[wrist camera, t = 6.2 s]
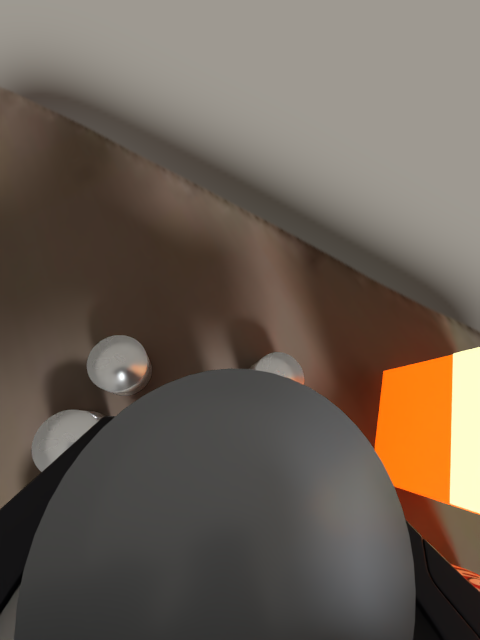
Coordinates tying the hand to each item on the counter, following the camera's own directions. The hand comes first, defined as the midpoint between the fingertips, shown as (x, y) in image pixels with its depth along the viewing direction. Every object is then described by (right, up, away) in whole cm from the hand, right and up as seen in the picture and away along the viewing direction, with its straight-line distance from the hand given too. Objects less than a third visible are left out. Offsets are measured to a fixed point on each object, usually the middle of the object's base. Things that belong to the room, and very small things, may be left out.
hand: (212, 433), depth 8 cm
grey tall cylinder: (-1, -3, +6) cm, 7 cm away
